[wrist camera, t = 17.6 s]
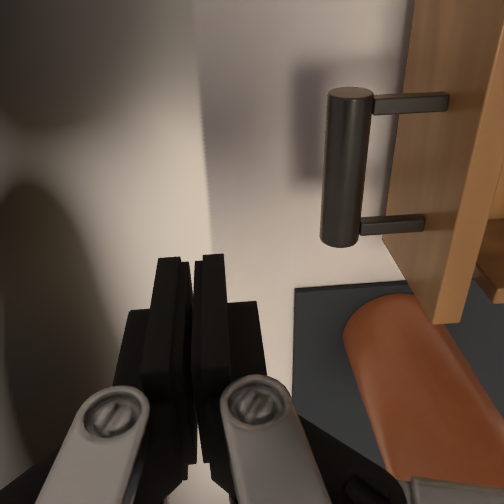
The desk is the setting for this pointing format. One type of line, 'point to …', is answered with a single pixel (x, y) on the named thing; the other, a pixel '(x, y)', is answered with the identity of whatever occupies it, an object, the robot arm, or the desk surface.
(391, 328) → the pen holder
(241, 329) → the robot arm
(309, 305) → the desk mat
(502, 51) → the drawer
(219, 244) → the desk surface
